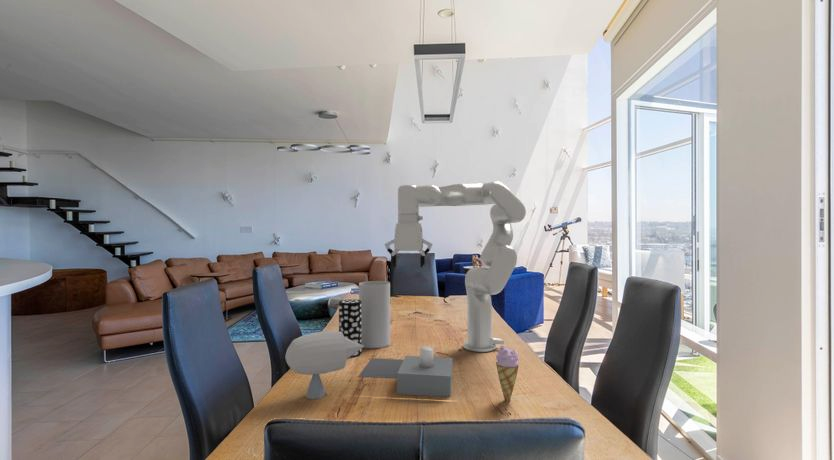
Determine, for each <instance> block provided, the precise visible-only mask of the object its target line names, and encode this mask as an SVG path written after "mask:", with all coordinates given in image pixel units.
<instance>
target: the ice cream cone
mask: <svg viewBox="0 0 834 460" xmlns="http://www.w3.org/2000/svg"><path fill="white" fill-rule="evenodd" d="M498 350H499V351H498V352H497V354H496V357H495V358H496V362H495V365H496V369H497V376H498V379H499V380H498V381H499V384H500V388H501V390H502V391H501V392H502V396H503V398H504V399H503V400H504V401H505V402H510V401H511V399H512V395H513V391H514V388H515V385H516V380H517V376H518V370H519V365H520V360H519V353H518V351H516V350H515V349H513V350H512V349H511V347H508V346H504V345H501V346H500V347H499V348H498Z"/></svg>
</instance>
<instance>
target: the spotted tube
mask: <svg viewBox="0 0 834 460" xmlns="http://www.w3.org/2000/svg"><path fill="white" fill-rule="evenodd" d="M338 331H340V332H342V333H343V335H344V337H345V338H347V339H350V340H352V341H354V342H357V343H359V344H361V345H362V309H361V300H359V299H353V298H352V299H351V298H350V299H342V300H339V301H338ZM362 351H363V348H362V349H360V350H359V351H358V352H356V353H355V354H353V355H352V356H351V357H349V358H356V357H359V356H362V353H363V352H362ZM349 358H348V359H349Z"/></svg>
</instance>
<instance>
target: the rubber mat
mask: <svg viewBox="0 0 834 460" xmlns="http://www.w3.org/2000/svg"><path fill="white" fill-rule="evenodd" d="M403 360H404V359H397V358H373V357H372V358H370V360H369V361H368V362H367V364H366V365H365V367H364V368H362V371H361V372H360V373H359V374H358V376H357V377H358V378H375V379H376V378H377V379H380V378H381V379H397V373H398V371H399V369H400V366H401V364H402V362H403Z"/></svg>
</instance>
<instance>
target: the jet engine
mask: <svg viewBox="0 0 834 460" xmlns="http://www.w3.org/2000/svg"><path fill="white" fill-rule="evenodd" d="M363 348H364V346H363V345H361V344H359V343H357V342H354V341H352V340H350V339H347V338H345V337H344V335H343V333H342V332H340V331H339V330H337V331H335V330H334V331H317V332H312V333H311V332H310V333H307V334H303V335H301V336H299V337H297V338H294V339H293V340H292V341H291V343H290V344H289V346H288V347H287V349H286V353H285V362H286V364H287V366H288V367H289V368H290V369H291V370H292V371H293V372H294V373H297V374H300V375H309V376H311V379H310V381H309V385H308V387H307V390H306V394H305V395H306V399H307V398H308V399H311V400H315V399H321V398H323V397H325V396H327V393H326V390H325V387H324V384H323V382H322V379H321V375H322V374H329V373H332V372H336V371H340V370H344V368H345V367H346V364H347V360H348V359H349V357H351V356H352V355H353V354H355V353H356V352H358V351H359V350H360V349H362V350H363Z"/></svg>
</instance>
